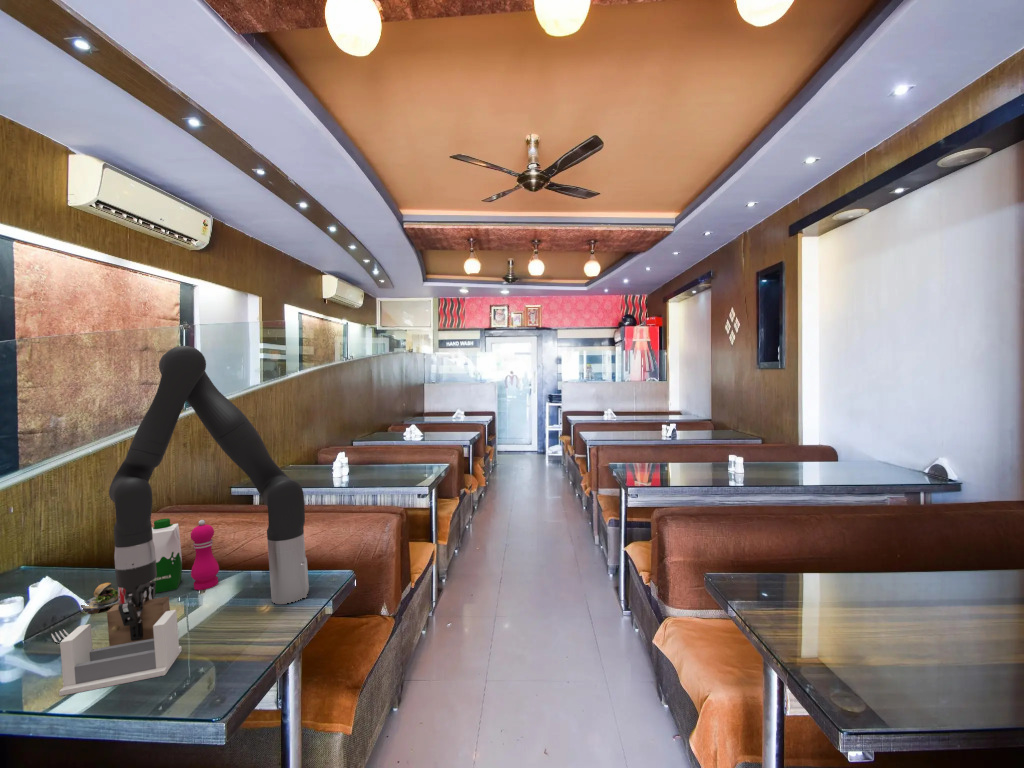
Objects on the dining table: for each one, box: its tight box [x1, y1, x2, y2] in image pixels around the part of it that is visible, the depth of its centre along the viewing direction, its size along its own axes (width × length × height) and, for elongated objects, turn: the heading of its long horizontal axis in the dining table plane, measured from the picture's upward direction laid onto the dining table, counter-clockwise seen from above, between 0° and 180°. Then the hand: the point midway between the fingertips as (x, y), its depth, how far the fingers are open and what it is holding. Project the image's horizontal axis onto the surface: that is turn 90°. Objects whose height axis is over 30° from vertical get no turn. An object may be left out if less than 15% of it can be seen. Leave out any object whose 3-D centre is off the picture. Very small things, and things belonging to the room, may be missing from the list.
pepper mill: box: [190, 519, 220, 591], centre depth 149 cm, size 7×7×20 cm
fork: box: [50, 629, 70, 643], centre depth 116 cm, size 3×24×2 cm, turn 59°
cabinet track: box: [58, 609, 183, 697], centre depth 105 cm, size 18×10×10 cm, turn 107°
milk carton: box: [152, 518, 183, 594], centre depth 149 cm, size 9×9×20 cm
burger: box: [80, 579, 119, 614], centre depth 140 cm, size 12×12×8 cm
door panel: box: [106, 596, 171, 647], centre depth 115 cm, size 11×4×10 cm, turn 107°
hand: (141, 634), depth 115 cm, fingers closed on door panel, 3 cm apart
